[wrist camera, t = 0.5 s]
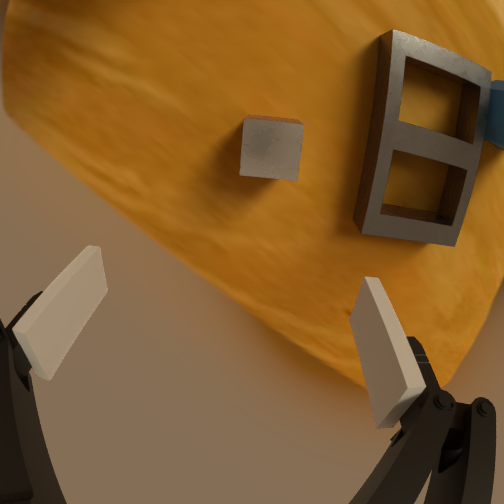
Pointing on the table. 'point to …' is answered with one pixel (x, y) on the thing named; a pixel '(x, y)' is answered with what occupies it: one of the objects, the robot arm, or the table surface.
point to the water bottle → (495, 115)
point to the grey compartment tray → (421, 142)
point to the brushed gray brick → (271, 147)
